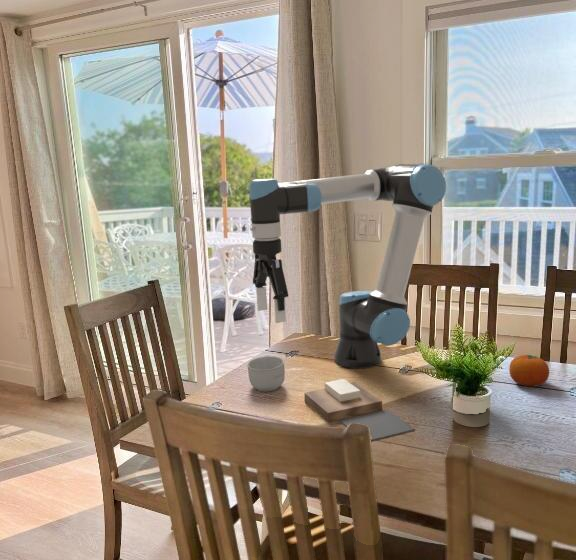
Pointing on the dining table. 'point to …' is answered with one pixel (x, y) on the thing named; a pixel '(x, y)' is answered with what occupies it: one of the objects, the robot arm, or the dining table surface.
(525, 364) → the fruit
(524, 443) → the dining table surface
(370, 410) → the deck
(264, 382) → the teacup
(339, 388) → the white rectangular block
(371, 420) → the mat
